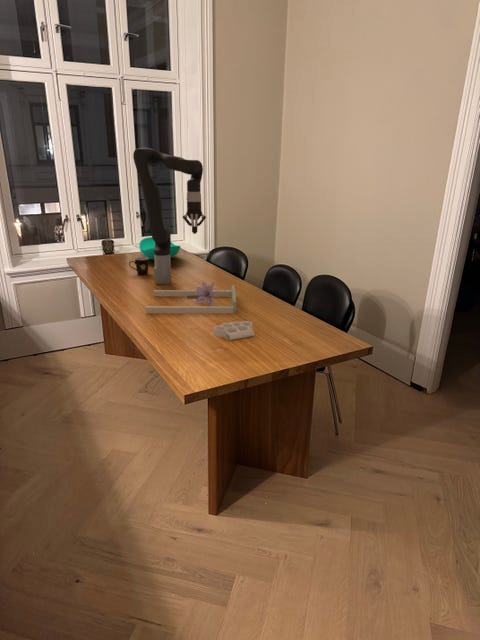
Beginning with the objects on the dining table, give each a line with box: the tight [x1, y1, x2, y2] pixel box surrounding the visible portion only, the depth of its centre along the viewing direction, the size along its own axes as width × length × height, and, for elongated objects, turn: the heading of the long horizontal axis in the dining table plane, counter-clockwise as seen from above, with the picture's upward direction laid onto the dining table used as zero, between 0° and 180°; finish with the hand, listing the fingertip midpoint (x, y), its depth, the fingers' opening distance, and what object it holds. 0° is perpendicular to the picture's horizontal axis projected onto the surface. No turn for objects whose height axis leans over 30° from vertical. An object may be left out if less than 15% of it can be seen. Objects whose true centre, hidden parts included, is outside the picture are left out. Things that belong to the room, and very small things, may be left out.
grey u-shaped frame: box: [145, 284, 237, 314], centre depth 222 cm, size 44×28×6 cm, turn 93°
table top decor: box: [139, 236, 182, 261], centre depth 311 cm, size 40×28×13 cm
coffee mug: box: [128, 256, 150, 276], centre depth 275 cm, size 12×9×10 cm
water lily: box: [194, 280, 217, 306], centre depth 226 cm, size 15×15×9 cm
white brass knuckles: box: [213, 320, 256, 341], centre depth 187 cm, size 3×18×15 cm
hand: (194, 233), depth 234 cm, fingers closed
